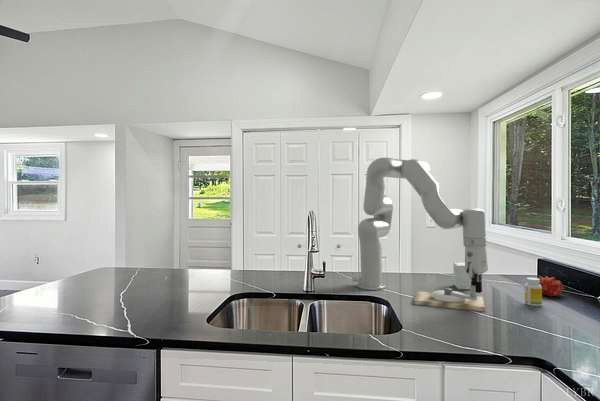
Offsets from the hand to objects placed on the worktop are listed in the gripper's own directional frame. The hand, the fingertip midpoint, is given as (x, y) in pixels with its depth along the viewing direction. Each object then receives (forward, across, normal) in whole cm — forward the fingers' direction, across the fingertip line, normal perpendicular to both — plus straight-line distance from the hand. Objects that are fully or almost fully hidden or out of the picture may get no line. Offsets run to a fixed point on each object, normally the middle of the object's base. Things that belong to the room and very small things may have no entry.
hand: (476, 291), depth 128 cm
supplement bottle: (+6, +17, -14) cm, 23 cm away
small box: (+5, +25, +15) cm, 30 cm away
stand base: (+5, -2, +10) cm, 11 cm away
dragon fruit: (+6, +35, -15) cm, 39 cm away
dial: (+4, -2, +8) cm, 9 cm away
